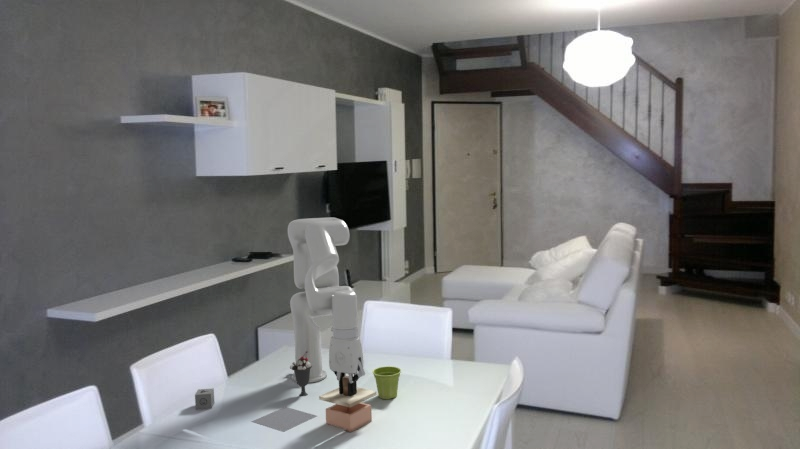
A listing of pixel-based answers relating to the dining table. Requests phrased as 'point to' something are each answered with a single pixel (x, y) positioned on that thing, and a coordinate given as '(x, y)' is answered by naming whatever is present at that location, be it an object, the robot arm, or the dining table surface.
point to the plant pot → (387, 381)
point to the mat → (284, 419)
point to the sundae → (302, 373)
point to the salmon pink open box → (349, 416)
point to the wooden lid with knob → (345, 398)
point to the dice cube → (204, 399)
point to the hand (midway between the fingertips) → (348, 393)
